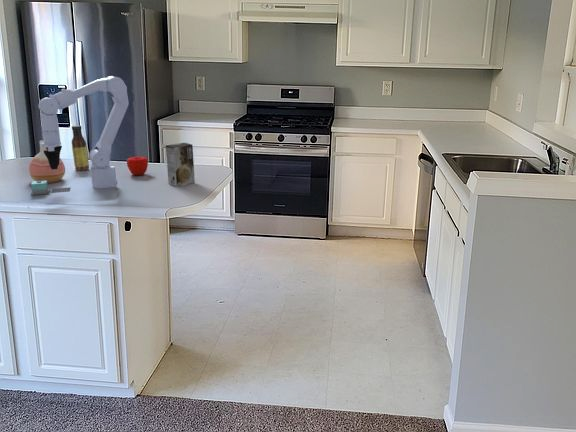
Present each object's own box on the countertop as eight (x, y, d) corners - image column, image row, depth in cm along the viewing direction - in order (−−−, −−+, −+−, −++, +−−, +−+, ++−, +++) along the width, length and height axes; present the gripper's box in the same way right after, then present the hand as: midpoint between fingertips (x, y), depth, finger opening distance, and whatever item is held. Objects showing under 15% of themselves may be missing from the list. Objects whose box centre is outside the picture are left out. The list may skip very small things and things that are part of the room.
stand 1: (51, 193, 216) (50, 190, 215) (49, 197, 210) (49, 194, 209) (32, 194, 214) (32, 191, 213) (30, 199, 208) (30, 195, 207)
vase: (73, 181, 236) (68, 139, 231) (52, 188, 223) (46, 144, 218) (45, 179, 239) (40, 137, 234) (23, 186, 227) (17, 142, 222)
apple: (133, 178, 241) (132, 160, 239) (124, 174, 247) (122, 157, 245) (152, 175, 247) (151, 157, 244) (143, 171, 253) (141, 154, 251)
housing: (48, 190, 214) (46, 179, 213) (47, 194, 210) (45, 182, 209) (34, 191, 213) (32, 180, 212) (32, 195, 208) (31, 183, 207)
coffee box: (186, 180, 237) (184, 142, 232) (195, 183, 232) (193, 144, 228) (167, 184, 231) (165, 144, 226) (176, 186, 226) (174, 146, 222)
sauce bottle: (92, 169, 258) (87, 125, 253) (81, 171, 253) (76, 127, 248) (83, 167, 262) (78, 124, 256) (71, 169, 257) (66, 126, 251)
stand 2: (71, 190, 220) (70, 187, 220) (70, 194, 214) (69, 191, 214) (53, 191, 219) (52, 188, 218) (51, 195, 213) (51, 192, 212)
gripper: (41, 128, 214) (45, 164, 218) (37, 134, 201) (41, 171, 205) (61, 128, 216) (65, 162, 220) (58, 133, 203) (62, 170, 207)
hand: (55, 167), depth 212 cm, fingers open, 7 cm apart
